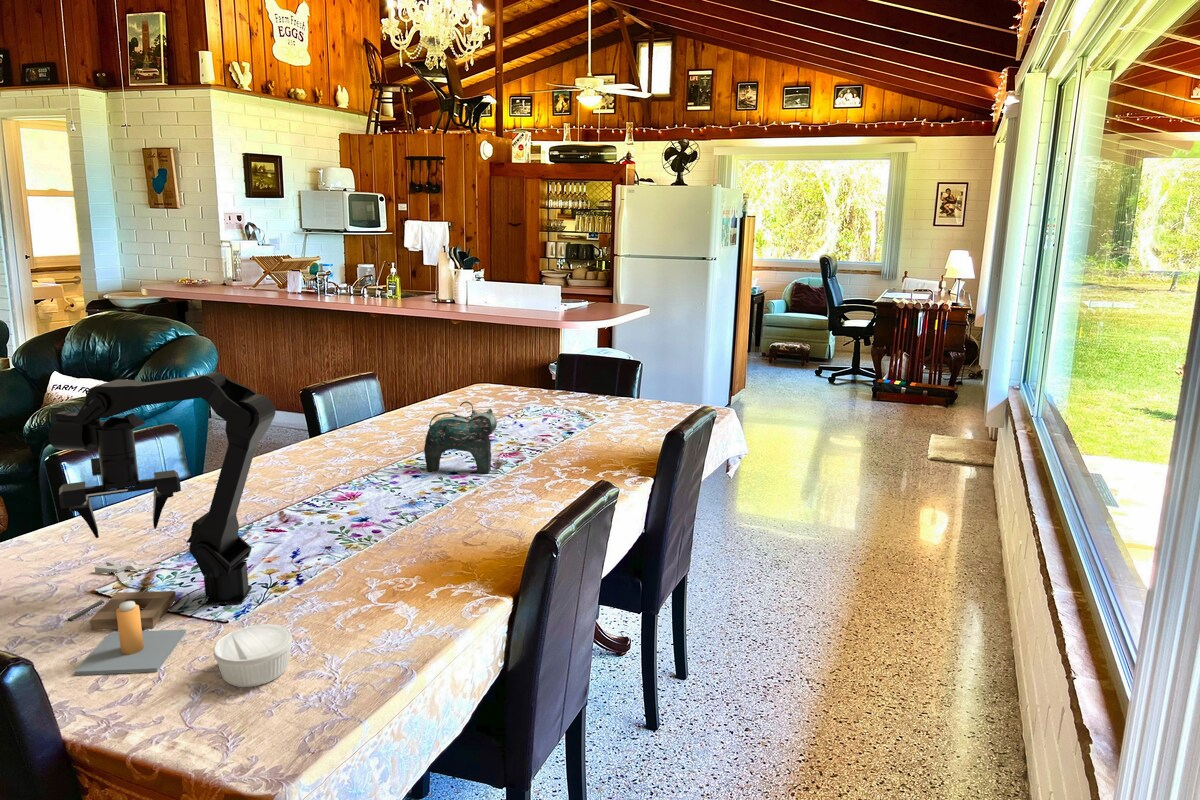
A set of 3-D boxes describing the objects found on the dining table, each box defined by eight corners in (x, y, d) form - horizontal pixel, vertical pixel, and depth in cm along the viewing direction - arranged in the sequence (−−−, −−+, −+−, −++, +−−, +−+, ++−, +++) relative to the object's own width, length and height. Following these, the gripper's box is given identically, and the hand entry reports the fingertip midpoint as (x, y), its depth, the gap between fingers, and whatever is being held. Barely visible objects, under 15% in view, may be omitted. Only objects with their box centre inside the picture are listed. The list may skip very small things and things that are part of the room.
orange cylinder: (147, 643, 133) (142, 599, 131) (138, 654, 130) (133, 608, 128) (126, 644, 132) (121, 599, 130) (117, 655, 129) (111, 609, 127)
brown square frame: (176, 600, 148) (175, 590, 148) (153, 628, 139) (152, 617, 138) (118, 602, 147) (116, 592, 147) (91, 630, 138) (89, 619, 137)
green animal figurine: (497, 469, 228) (497, 400, 223) (492, 476, 222) (492, 405, 217) (429, 465, 230) (427, 397, 225) (421, 472, 224) (420, 402, 219)
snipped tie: (100, 602, 147) (100, 600, 147) (104, 602, 147) (104, 600, 147) (67, 620, 141) (67, 618, 140) (71, 621, 140) (71, 619, 140)
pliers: (144, 584, 152) (79, 573, 156) (145, 592, 152) (80, 581, 156) (183, 563, 161) (121, 553, 165) (184, 570, 162) (122, 560, 165)
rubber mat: (185, 632, 138) (185, 629, 137) (157, 671, 126) (156, 668, 126) (110, 635, 136) (110, 632, 136) (74, 675, 124) (74, 671, 124)
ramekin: (199, 682, 124) (196, 651, 122) (254, 647, 134) (252, 618, 133) (257, 699, 120) (254, 667, 119) (309, 661, 130) (307, 631, 129)
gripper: (171, 433, 156) (179, 509, 160) (56, 446, 147) (66, 527, 150) (177, 448, 147) (185, 528, 151) (54, 463, 138) (65, 548, 141)
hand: (126, 532), depth 148 cm, fingers open, 9 cm apart
